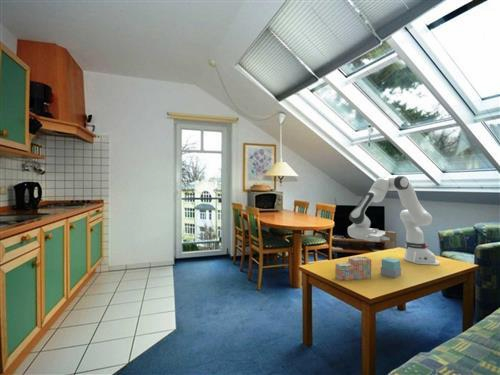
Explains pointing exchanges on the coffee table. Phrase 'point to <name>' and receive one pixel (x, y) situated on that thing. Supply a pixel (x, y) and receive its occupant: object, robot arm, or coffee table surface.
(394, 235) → the walnut block
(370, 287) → the coffee table surface
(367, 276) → the stack of blocks
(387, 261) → the tower top
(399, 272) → the tower base
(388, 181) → the robot arm
